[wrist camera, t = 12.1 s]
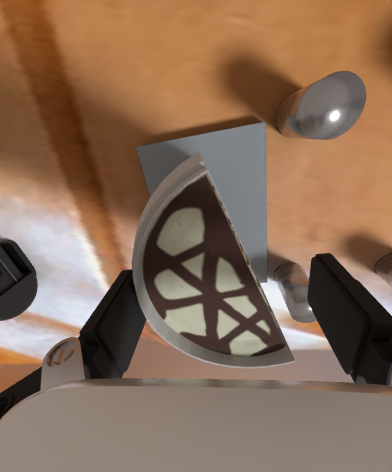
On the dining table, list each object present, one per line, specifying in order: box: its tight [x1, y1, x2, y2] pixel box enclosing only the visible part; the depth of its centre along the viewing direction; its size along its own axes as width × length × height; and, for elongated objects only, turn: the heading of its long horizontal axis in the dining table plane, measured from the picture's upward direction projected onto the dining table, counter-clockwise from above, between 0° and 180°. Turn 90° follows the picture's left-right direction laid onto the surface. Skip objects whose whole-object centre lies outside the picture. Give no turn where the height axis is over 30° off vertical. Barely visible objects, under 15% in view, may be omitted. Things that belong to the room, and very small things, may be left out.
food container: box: [132, 152, 295, 368], centre depth 14 cm, size 12×6×10 cm, turn 27°
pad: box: [136, 122, 267, 283], centre depth 19 cm, size 10×15×1 cm, turn 10°
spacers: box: [274, 71, 392, 323], centre depth 15 cm, size 13×18×5 cm
